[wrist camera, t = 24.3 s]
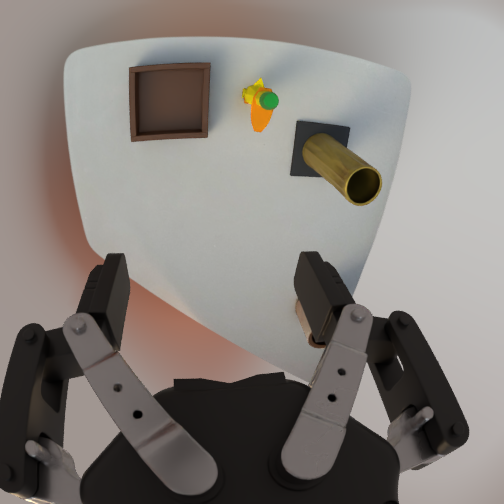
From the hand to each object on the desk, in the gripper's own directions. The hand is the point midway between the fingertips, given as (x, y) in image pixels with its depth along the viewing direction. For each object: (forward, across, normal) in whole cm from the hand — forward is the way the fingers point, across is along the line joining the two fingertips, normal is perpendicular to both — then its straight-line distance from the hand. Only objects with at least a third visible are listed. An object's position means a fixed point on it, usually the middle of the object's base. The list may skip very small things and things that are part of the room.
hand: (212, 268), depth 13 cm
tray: (+32, +5, -4) cm, 33 cm away
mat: (+32, -19, +2) cm, 37 cm away
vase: (+32, -18, +2) cm, 37 cm away
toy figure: (+32, -7, -5) cm, 33 cm away
